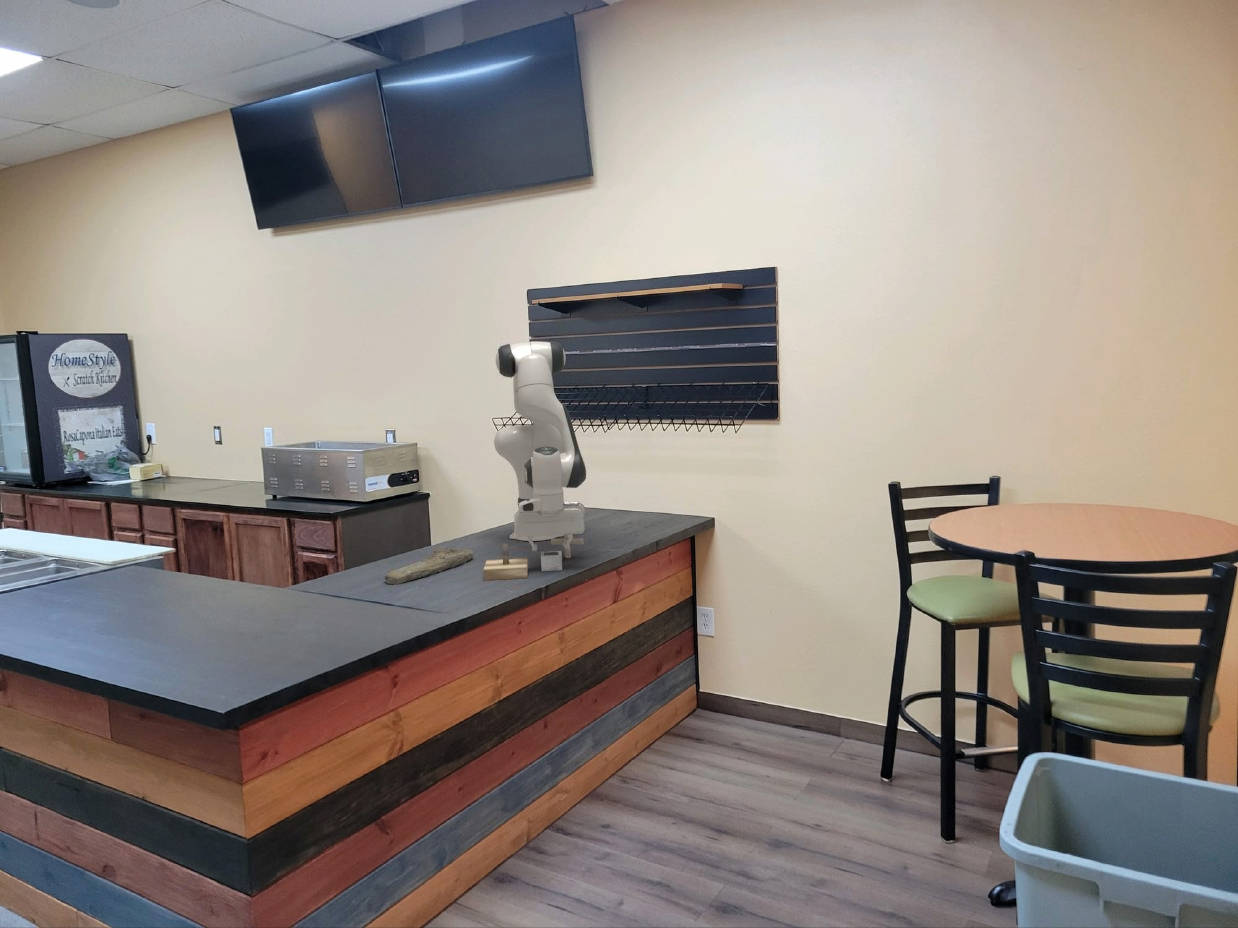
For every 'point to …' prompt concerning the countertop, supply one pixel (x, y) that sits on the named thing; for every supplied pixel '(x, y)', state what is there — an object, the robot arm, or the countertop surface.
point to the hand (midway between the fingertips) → (550, 549)
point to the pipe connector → (562, 541)
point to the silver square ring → (551, 561)
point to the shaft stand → (506, 567)
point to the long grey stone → (430, 565)
